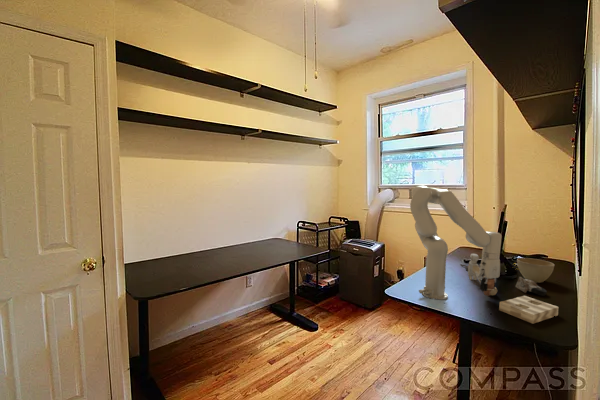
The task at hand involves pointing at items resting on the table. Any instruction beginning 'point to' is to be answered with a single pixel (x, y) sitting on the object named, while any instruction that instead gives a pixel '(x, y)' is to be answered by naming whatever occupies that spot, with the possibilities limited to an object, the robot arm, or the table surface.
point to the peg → (489, 286)
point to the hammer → (476, 270)
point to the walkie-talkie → (465, 266)
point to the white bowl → (535, 269)
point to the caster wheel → (530, 286)
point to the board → (528, 309)
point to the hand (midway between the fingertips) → (487, 289)
